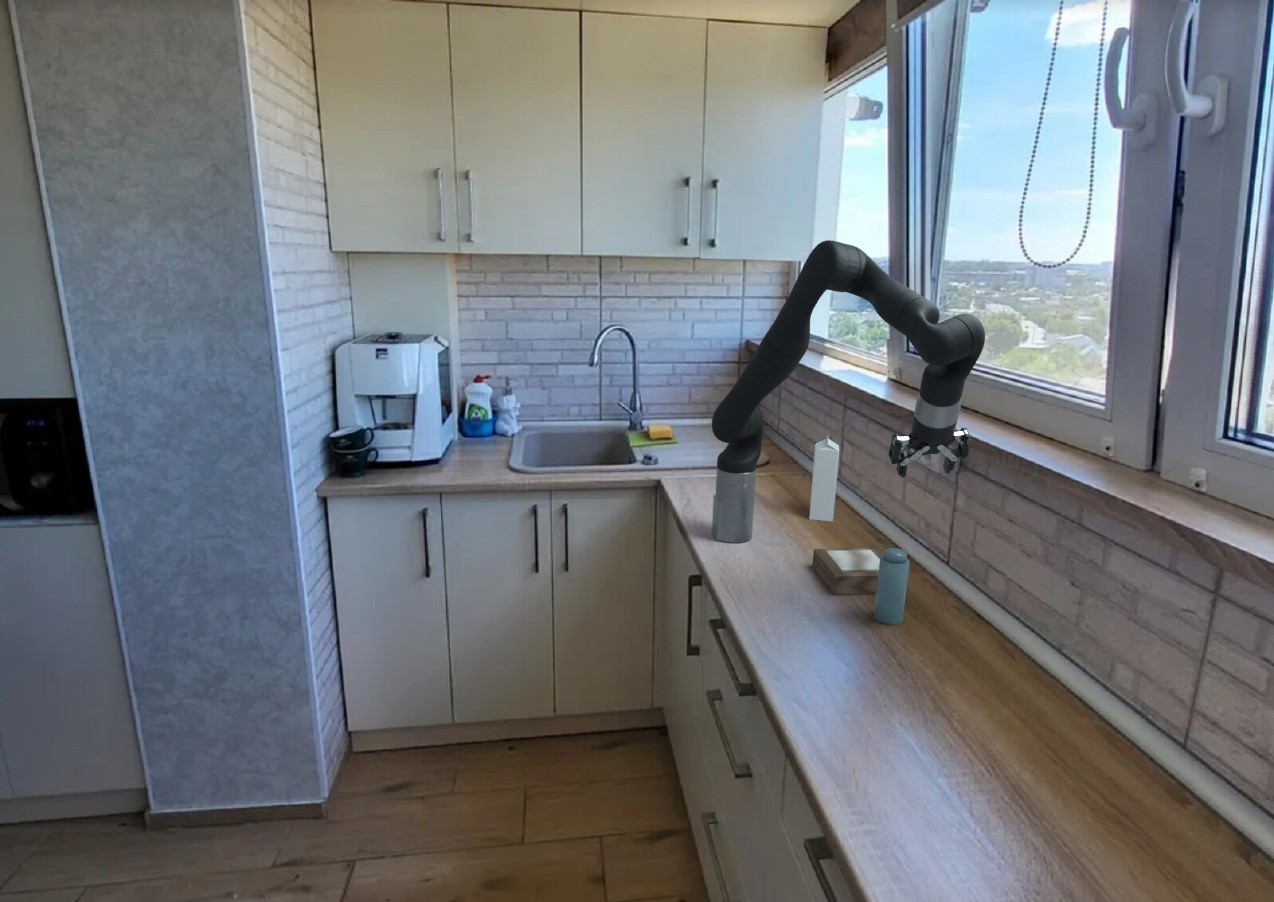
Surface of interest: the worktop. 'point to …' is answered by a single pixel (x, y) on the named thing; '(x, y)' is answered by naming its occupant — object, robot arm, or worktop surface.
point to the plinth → (848, 569)
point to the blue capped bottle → (891, 586)
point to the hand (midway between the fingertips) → (923, 472)
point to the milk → (824, 480)
